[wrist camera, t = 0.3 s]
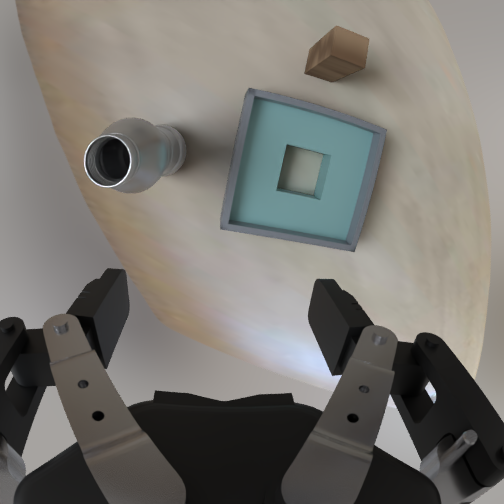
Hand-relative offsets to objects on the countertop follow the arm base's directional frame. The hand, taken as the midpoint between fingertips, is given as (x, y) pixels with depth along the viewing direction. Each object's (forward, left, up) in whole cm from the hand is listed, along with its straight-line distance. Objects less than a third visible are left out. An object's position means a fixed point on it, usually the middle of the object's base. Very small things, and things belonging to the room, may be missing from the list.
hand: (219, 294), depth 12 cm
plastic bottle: (-4, -8, -28) cm, 29 cm away
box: (-4, +10, -28) cm, 30 cm away
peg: (-20, +10, -28) cm, 36 cm away
